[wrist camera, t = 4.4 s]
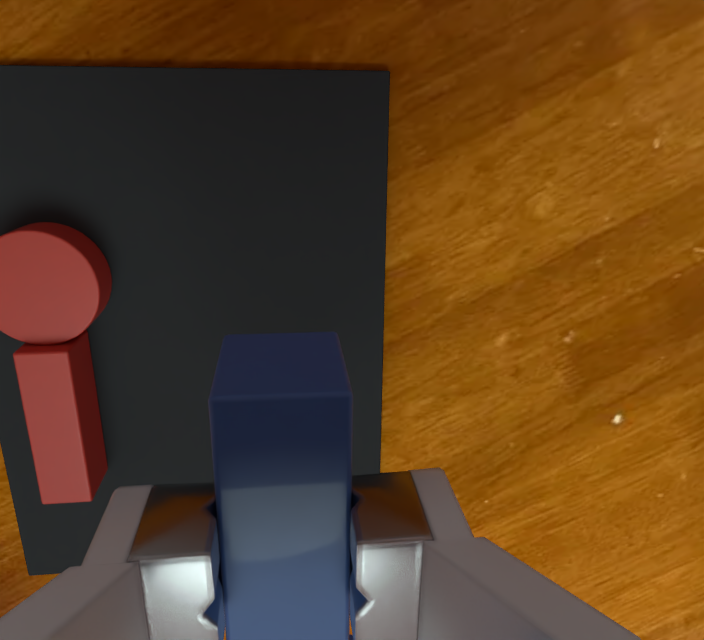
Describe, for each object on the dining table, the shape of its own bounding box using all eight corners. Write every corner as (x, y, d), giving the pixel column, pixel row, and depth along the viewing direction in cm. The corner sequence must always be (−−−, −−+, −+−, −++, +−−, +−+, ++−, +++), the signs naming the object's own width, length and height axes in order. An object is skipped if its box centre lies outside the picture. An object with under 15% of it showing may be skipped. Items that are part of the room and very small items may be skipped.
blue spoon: (150, 334, 9) (112, 402, 7) (405, 328, 10) (440, 389, 7) (198, 773, 13) (182, 905, 10) (385, 753, 13) (404, 876, 11)
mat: (-75, 64, 19) (-82, 64, 19) (387, 71, 21) (390, 70, 20) (32, 569, 25) (28, 575, 25) (376, 544, 27) (378, 550, 27)
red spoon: (136, 467, 24) (123, 500, 22) (33, 473, 24) (9, 507, 21) (104, 221, 21) (85, 232, 19) (-17, 222, 20) (-51, 234, 18)
